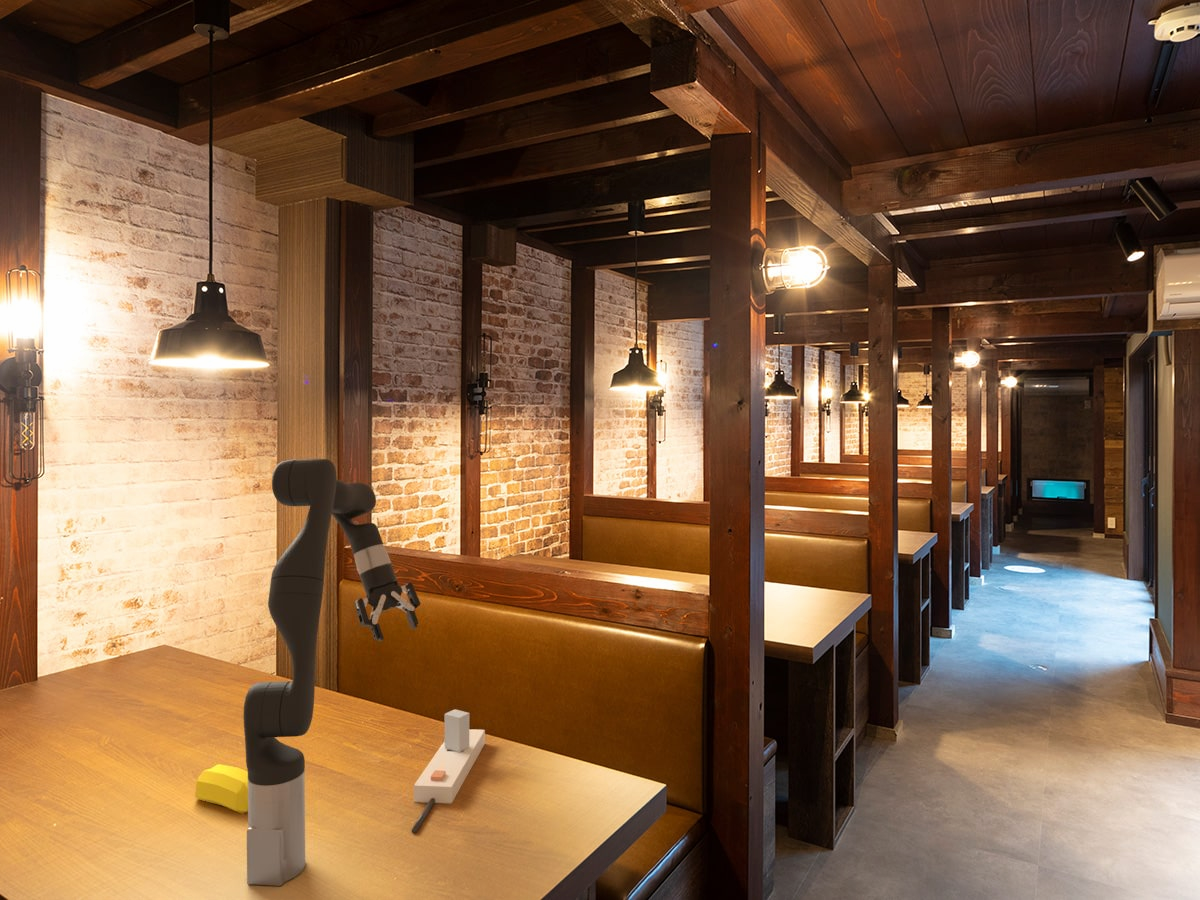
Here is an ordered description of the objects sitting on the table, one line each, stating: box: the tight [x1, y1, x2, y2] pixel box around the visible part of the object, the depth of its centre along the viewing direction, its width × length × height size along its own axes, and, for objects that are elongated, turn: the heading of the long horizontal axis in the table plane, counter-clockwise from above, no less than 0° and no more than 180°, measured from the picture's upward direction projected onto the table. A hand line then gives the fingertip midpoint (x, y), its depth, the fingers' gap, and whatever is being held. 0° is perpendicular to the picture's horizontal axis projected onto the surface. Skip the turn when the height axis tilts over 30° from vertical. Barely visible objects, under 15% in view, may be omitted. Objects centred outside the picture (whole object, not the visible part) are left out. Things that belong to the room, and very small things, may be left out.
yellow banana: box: [194, 763, 248, 814], centre depth 159 cm, size 18×7×8 cm
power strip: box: [411, 728, 486, 834], centre depth 167 cm, size 42×8×4 cm, turn 175°
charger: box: [444, 709, 470, 752], centre depth 177 cm, size 4×4×10 cm
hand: (398, 634), depth 174 cm, fingers open, 8 cm apart
